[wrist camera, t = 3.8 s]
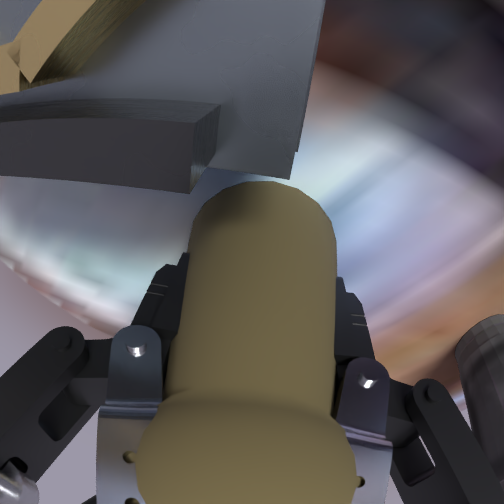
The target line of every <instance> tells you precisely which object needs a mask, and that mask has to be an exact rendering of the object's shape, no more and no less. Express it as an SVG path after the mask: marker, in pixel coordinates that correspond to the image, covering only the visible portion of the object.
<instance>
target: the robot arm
mask: <svg viewBox="0 0 504 504" xmlns="http://www.w3.org/2000/svg"><path fill="white" fill-rule="evenodd" d="M189 258H190V253H185V252H183V254H182V256H181V258H180V260H179V262H178V265H177V266H175V265H169V264H166V265H165V266H163V267H162V268H161V269H159V270H158V271H157V272H156V274H155V275H154V277H153V279H152V282H151V285H150V286H149V288H148V290H147V293H146V294H145V296H144V298H143V300H142V302H141V304H140V306H139V308H138V310H137V312H136V315H135V317H134V319H133V321H132V323H131V325H130V326H128V327H125V328H123V329H121V330H120V331H118V332H117V333H116V335H115V336H114V338H111V339H104V340H103V339H102V340H85V339H84V337H83V335H82V333H81V332H80V331H78V330H77V329H75V328H73V327H68V326H63V327H58V328H55V329H53V330H51V331H50V332H49V333H47V334H46V335H45V336H44V337H43V338H42V339H41V340H39V341H38V342H37V343H36V344H35V345H34V346H33V347H32V348H31V349H30V350H29V351H27V352H26V353H25V354H24V355H23V356H22V357H21V358H20V359H19V360H18V361H17V362H16V363H15V364H14V365H13V366H12V367H11V368H10V369H9V370H7V371H6V372H5V373H4V374H3V375H2V376H1V377H0V504H38V502H39V491H38V488H37V485H36V482H37V481H38V480H39V479H40V477H41V476H42V475H43V474H44V472H45V471H46V470H47V469H48V468H49V467H50V465H51V464H52V463H53V462H54V460H55V459H56V458H57V457H58V456H59V455H60V453H61V452H62V451H63V450H64V449H65V448H66V446H67V445H68V444H69V443H70V442H71V440H72V439H73V438H74V437H75V436H76V434H77V433H78V432H79V431H80V430H81V429H82V427H83V426H84V425H85V424H86V423H87V422H88V420H89V419H90V418H91V417H92V416H93V414H94V413H95V412H96V411H97V410H98V409H99V408H100V409H99V414H98V429H97V455H96V456H97V457H96V495H95V496H93V497H92V498H90V499H88V500H87V501H85V502H83V503H82V504H130V503H131V501H132V500H138V501H139V503H140V504H146V503H145V501H144V499H143V498H142V496H141V494H140V492H139V491H138V486H137V477H136V468H135V462H134V463H126V462H125V459H126V457H127V455H129V454H130V453H135V454H137V451H138V447H139V444H140V441H141V438H142V434H143V431H144V430H145V429H146V428H147V426H148V425H149V424H150V422H151V421H152V420H153V418H154V417H155V415H156V413H157V408H158V407H159V406H157V405H158V404H160V403H161V402H163V401H164V396H163V394H164V387H165V379H166V372H167V365H168V358H169V352H170V345H171V341H172V340H173V339H174V337H175V336H176V335H177V334H178V330H179V326H180V319H181V311H182V304H183V297H184V290H185V283H186V277H187V270H188V264H189ZM334 358H335V361H336V376H335V394H334V409H333V414H332V418H333V419H334V420H335V421H336V422H338V423H339V424H340V425H341V426H342V427H343V428H344V429H345V431H346V437H347V440H348V442H349V445H350V447H351V449H352V451H353V453H354V455H355V463H356V473H357V476H358V477H359V478H360V479H361V488H357V487H356V489H355V493H354V496H353V499H352V502H351V504H384V503H385V498H386V493H387V487H388V481H389V475H391V477H392V479H393V481H394V484H395V486H396V488H397V490H398V492H399V494H400V496H401V499H402V501H403V503H404V504H504V490H503V488H502V486H501V484H500V482H499V480H498V478H497V476H496V474H495V472H494V471H493V469H492V467H491V465H490V463H489V461H488V459H487V457H486V456H485V454H484V452H483V450H482V448H481V447H480V445H479V443H478V441H477V440H476V438H475V436H474V434H473V433H472V431H471V429H470V427H469V426H468V424H467V422H466V421H465V419H464V417H463V416H462V414H461V412H460V411H459V409H458V407H457V406H456V404H455V402H454V401H453V399H452V398H451V396H450V394H449V393H448V391H447V390H446V388H445V387H444V386H443V385H442V384H441V383H439V382H438V381H436V380H433V379H428V378H427V379H422V380H420V381H418V382H417V383H416V384H415V386H410V385H407V384H404V383H401V382H398V381H395V380H393V379H391V378H390V377H389V374H388V372H387V370H386V369H385V367H384V366H383V365H382V364H381V363H379V362H378V361H376V360H375V356H374V352H373V347H372V343H371V339H370V335H369V331H368V327H367V323H366V319H365V317H364V311H363V307H362V304H361V302H360V301H359V300H358V298H357V297H356V296H355V294H354V293H348V292H346V290H345V286H344V282H343V278H342V277H336V300H335V333H334ZM419 436H421V438H422V440H423V442H424V444H425V445H426V447H427V449H428V451H429V453H430V455H431V457H432V459H433V460H434V463H435V467H434V465H433V463H432V462H431V459H430V458H429V456H428V454H427V452H426V450H425V448H424V446H423V444H422V442H421V440H420V439H419Z"/></svg>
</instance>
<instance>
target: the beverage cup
mask: <svg viewBox="0 0 504 504" xmlns="http://www.w3.org/2000/svg"><path fill="white" fill-rule="evenodd" d="M455 358H456V360H457V363H458V368H459V372H460V380H461V384H462V388H463V392H464V396H465V400H466V405H467V409H468V414H469V419H470V424H471V429H472V433H473V434H474V436H475V438H476V440H477V441H478V443H479V445H480V447H481V448H482V450H483V452H484V454H485V456H486V457H487V459H488V461H489V463H490V465H491V467H492V469H493V471H494V472H495V474H496V476H497V478H498V480H499V482H500V484H501V486H502V488H503V490H504V315H500V314H498V315H495V316H491V317H488V318H487V319H485V320H483V321H481V322H479V323H478V324H477V325H475V326H474V327H472V328H471V329H470V330H469V331H468V332H467V333H466V334H465V335H464V336H463V337H462V339H461V340H460V342H459V343H458V345H457V347H456V350H455Z"/></svg>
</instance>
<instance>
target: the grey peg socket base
mask: <svg viewBox="0 0 504 504" xmlns="http://www.w3.org/2000/svg"><path fill="white" fill-rule="evenodd" d="M324 6H325V0H0V176H17V177H32V178H46V179H58V180H70V181H81V182H91V183H101V184H111V185H120V186H129V187H138V188H147V189H155V190H163V191H171V192H178V193H186V194H190V192H191V191H192V189H193V188H194V186H195V184H196V183H197V181H198V180H199V178H200V177H201V175H202V173H203V172H204V170H205V169H206V167H209V168H216V169H224V170H231V171H238V172H244V173H251V174H257V175H264V176H270V177H276V178H282V179H287V180H289V179H290V174H291V169H292V164H293V159H294V154H295V152H298V148H299V143H300V138H301V133H302V127H303V122H304V117H305V112H306V107H307V101H308V96H309V91H310V85H311V80H312V75H313V69H314V64H315V58H316V53H317V47H318V41H319V36H320V30H321V24H322V18H323V12H324Z"/></svg>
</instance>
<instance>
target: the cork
mask: <svg viewBox="0 0 504 504" xmlns="http://www.w3.org/2000/svg"><path fill="white" fill-rule="evenodd" d="M187 253H190V258H189V264H188V270H187V277H186V283H185V290H184V297H183V304H182V311H181V319H180V326H179V330H178V334H177V335H176V336H175V337H174V339H173V340H172V341H171V345H170V352H169V358H168V365H167V372H166V379H165V387H164V394H163V396H164V401H163V402H161V403H160V404H158V405H157V406H159V407H158V408H157V413H156V415H155V417H154V418H153V420H152V421H151V422H150V424H149V425H148V426H147V428H146V429H145V430H144V431H143V434H142V438H141V441H140V444H139V447H138V451H137V454H135V453H130V454H129V455H127V457H126V459H125V462H126V463H134V462H135V468H136V477H137V486H138V491H139V492H140V494H141V496H142V498H143V499H144V501H145V503H146V504H351V502H352V499H353V496H354V493H355V489H356V487H357V488H361V479H360V478H359V477H358V476H357V473H356V463H355V455H354V453H353V451H352V449H351V447H350V445H349V442H348V440H347V437H346V431H345V429H344V428H343V427H342V426H341V425H340V424H339V423H338V422H336V421H335V420H334V419H333V418H332V414H333V409H334V394H335V376H336V361H335V358H334V333H335V300H336V277H337V249H336V238H335V234H334V231H333V227H332V223H331V220H330V219H329V218H328V216H327V215H326V213H325V212H324V211H323V209H322V208H321V207H320V205H319V204H318V203H317V202H316V201H315V200H313V199H312V198H310V197H309V196H307V195H306V194H305V193H303V192H302V191H300V190H299V189H297V188H293V187H290V186H287V185H284V184H280V183H277V182H274V181H255V182H244V183H241V184H238V185H235V186H232V187H229V188H226V189H223V190H222V191H221V192H219V193H218V194H217V195H215V196H214V197H213V198H211V199H210V200H209V201H207V202H206V203H205V204H204V205H203V207H202V209H201V210H200V212H199V213H198V215H197V216H196V218H195V219H194V221H193V225H192V230H191V235H190V240H189V245H188V250H187ZM130 504H140V503H139V501H138V500H132V501H131V503H130Z"/></svg>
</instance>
